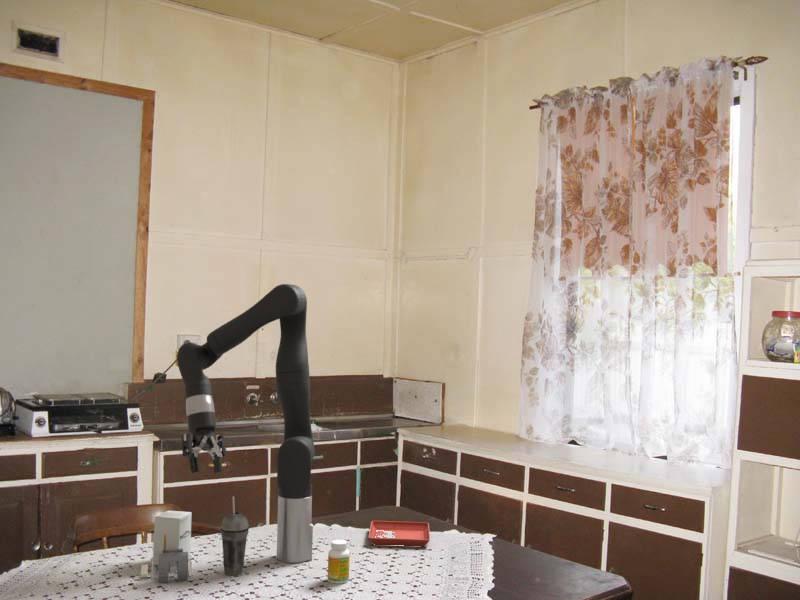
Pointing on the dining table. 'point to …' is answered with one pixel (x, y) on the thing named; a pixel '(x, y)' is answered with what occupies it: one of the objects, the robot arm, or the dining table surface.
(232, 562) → the beverage cup
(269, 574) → the dining table surface
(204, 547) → the dining table surface
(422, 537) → the plant saucer
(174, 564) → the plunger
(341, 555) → the supplement bottle
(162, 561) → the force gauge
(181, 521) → the supplement box
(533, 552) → the dining table surface
